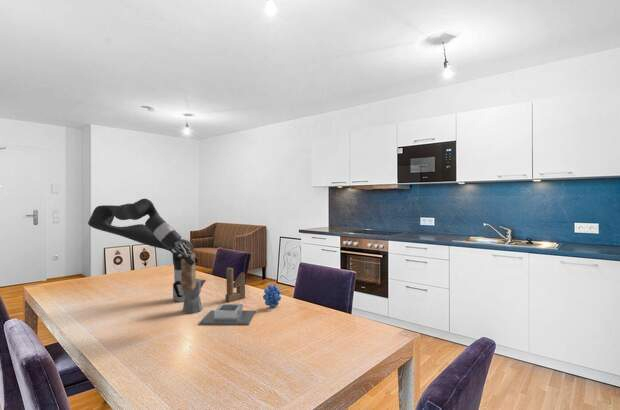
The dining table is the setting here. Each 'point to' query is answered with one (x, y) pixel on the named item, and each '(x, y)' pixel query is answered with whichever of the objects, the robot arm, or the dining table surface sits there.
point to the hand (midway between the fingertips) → (195, 262)
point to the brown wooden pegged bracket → (235, 286)
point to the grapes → (272, 296)
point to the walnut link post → (188, 274)
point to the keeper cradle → (228, 316)
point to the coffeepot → (191, 297)
